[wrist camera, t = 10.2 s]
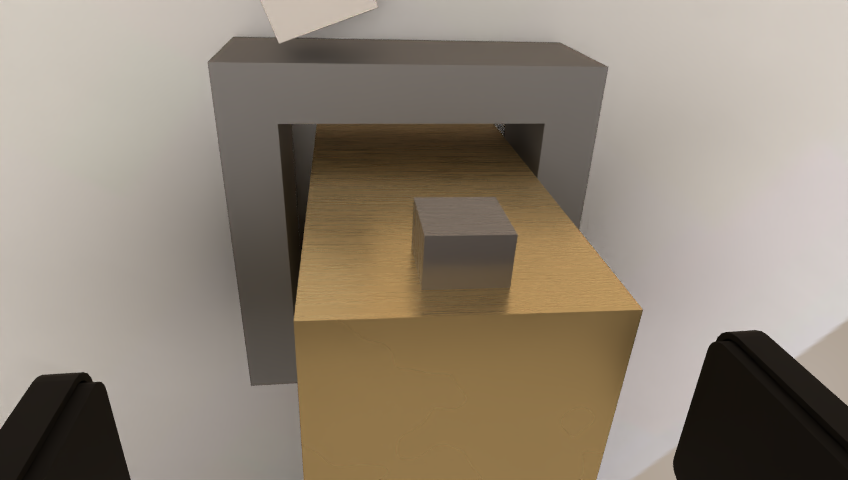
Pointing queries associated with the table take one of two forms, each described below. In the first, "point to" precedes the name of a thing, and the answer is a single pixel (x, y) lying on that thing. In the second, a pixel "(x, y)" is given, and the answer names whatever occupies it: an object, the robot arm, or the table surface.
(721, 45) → the table surface
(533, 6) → the table surface
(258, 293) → the socket
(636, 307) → the tan wooden block
